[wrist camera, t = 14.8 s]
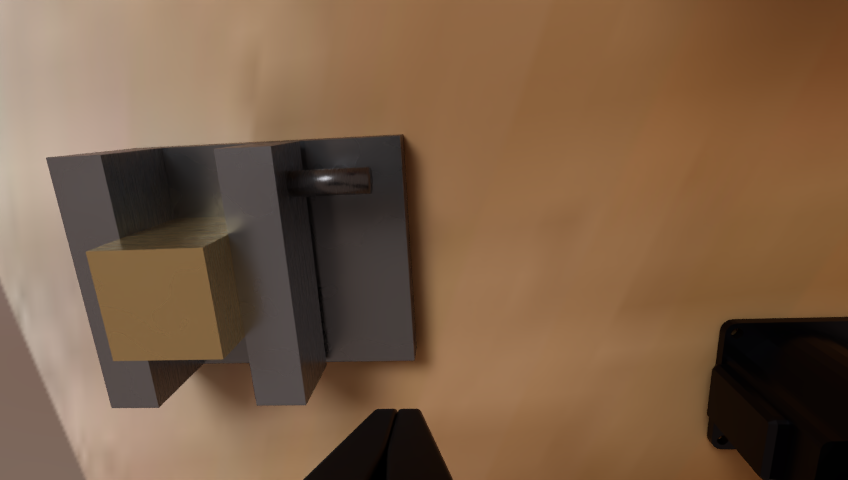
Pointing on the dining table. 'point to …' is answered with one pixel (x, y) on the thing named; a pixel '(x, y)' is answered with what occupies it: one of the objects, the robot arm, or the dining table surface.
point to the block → (169, 292)
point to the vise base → (201, 197)
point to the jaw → (279, 261)
